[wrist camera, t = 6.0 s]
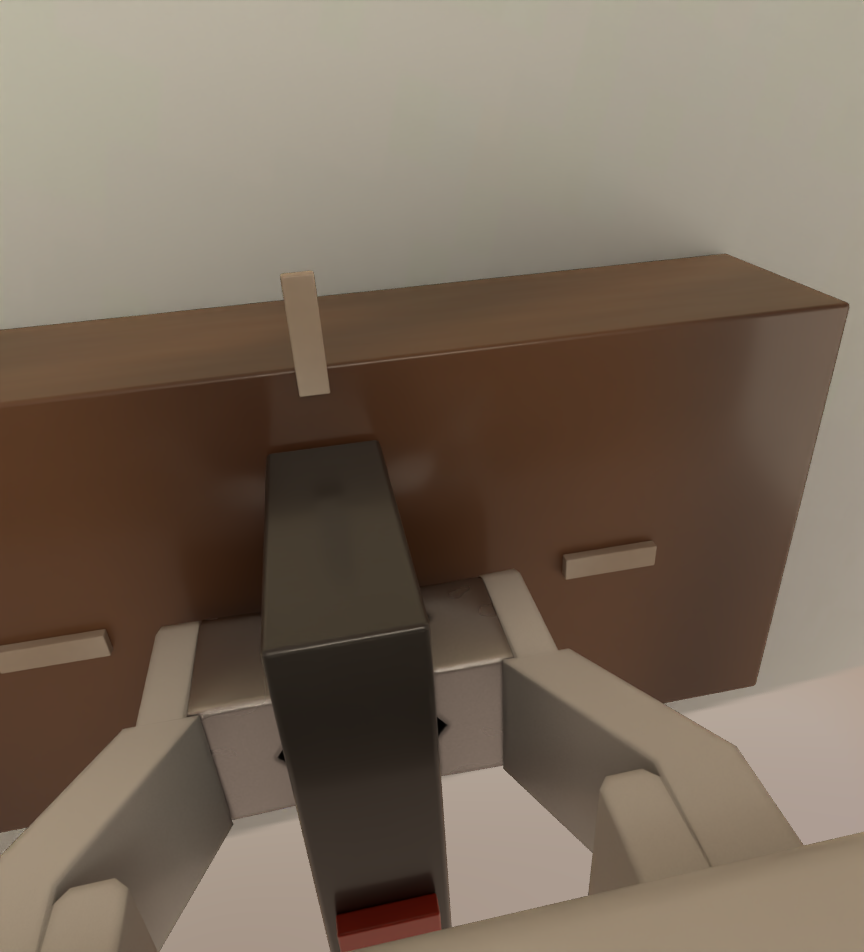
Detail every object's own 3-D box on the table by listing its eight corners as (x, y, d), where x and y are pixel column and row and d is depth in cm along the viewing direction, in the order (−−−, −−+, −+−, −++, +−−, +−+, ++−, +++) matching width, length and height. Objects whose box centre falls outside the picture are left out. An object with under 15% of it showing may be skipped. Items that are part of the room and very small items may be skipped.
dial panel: (738, 181, 11) (884, 215, 8) (670, 622, 16) (751, 735, 13) (-245, 270, 9) (-459, 351, 7) (5, 741, 14) (-60, 901, 11)
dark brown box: (265, 452, 9) (256, 677, 5) (378, 437, 9) (437, 645, 6) (319, 732, 11) (336, 996, 8) (407, 715, 11) (458, 967, 8)
